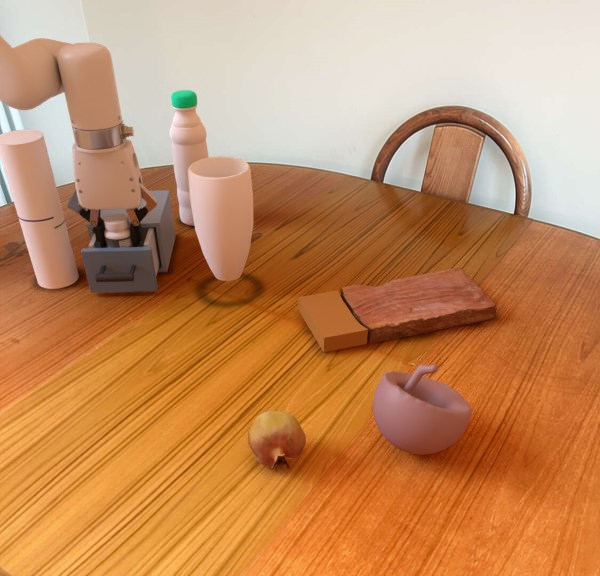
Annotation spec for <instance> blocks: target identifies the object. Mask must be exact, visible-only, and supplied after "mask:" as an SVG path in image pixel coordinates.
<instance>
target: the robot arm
mask: <svg viewBox="0 0 600 576" xmlns="http://www.w3.org/2000/svg"><path fill="white" fill-rule="evenodd" d="M117 86H118V85H117V81H116V76H115V69H114V63H113V59H112V54H111V52H110V50H109V49H108V47H106V46H105V45H103V44H101V43H96V42H76V43H75V42H74V43H69V42H66V41H65V42H64V41H61V40H56V39H52V38H51V39H50V38H44V37H43V38H42V37H40V38H34V39H31V40H29V41H26V42H24V43H21V44H19V45H16V46H14V47H12V45H11V44H10V43H8V42H7V40H6V39H4V37H2V36H1V35H0V102H2V103H3V104H4V105H5V106H8V107H9V108H11V109H15V110H19V111H29V110H30V111H31V110H33V109H35V108H37V107H39V106H41V105H42V104H44V103H45V102H47V101H48V100H50V99H51V98H54V97H57V96H59V95H61V94H63V93H64V97H65V102H66V107H67V110H68V111H67V112H68V114H69V120H70V125H71V129H72V134H73V138H74V142H73V143H72V146H71V155H72V157H71V158H72V169H73V178H74V186H75V190H74V191H73V193H72V195H71V197H70V199H69V200H68V202H67V204H66V205H67V209H70V210H72V211H73V212H74V213H76V214H79V216H80V217H82V218H83V219H84V220H85V221H87V223H88V222H90V225H91V226H93V227H94V232H95V236H96V241H97V242H100V247H101V248H106V246H107V245H106V241H105V236H104V231H105V229H106V228H105V224H104V221H103V219H102V218H101V217H100V216H101V210H110V209H126V212H127V214H128V216H129V218H130V220H131V224H130V233H131V238H132V244H133V247H138V246H139V243H140V241H142V239H143V235H142V229H141V224H140V222H141V221H142V220H143V218H144V217H145V216H146V215H147V213H149V212H150V211H151V210H152V209H154V208H155V207H156V206H157V203H158V200H157V199H156V198H155V197H154V196H153V195H152V194H151V193H150V192H149V191H150V190H148V189H147V187H145V185H144V181H143V176H142V172H141V168H140V164H139V161H138V156H137V153H136V150H135V147H134V144H133V141H132V140H131V139H128V138H129V137H135V130H134V127H133V126H128V125H126V124H125V121H124V119H123V115H122V110H121V105H120V97H119V93H118V87H117ZM141 198H143V199H144V200H145V201H146V203H145V204H144V205H143V206H142V207H141V208H140V209H139V208H138V207H139V206H140V205H141Z"/></svg>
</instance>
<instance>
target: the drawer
mask: <svg viewBox="0 0 600 576" xmlns="http://www.w3.org/2000/svg"><path fill="white" fill-rule="evenodd" d="M141 229H142V235H143V239H142V241H140V243H139V246H138V247H121V248H107V246H106V248H101V247H100V242H97V241H96V236H95V233H94V235H93V237H92V239H91V241H90V240H89V241H90V242H89V244H88V247H83V248H82V249H81V250H80V254H81V258H82V262H83V263H82V264H83V266H84V269H85V270H84V271H85V274H86V275H85V276H86V279H87V283H88V286H89V288H88V289H89V291H90V293H91V294H99V293H137V292H138V293H139V292H140V293H141V292H143V293H144V292H157V291H158V289H159V286H158V285H159V284H158V279H157V275H158V273H159V272H158V268H159V264H160V261H161V258H160V251H159V245H158V239H157V232H156V227H146V228H141Z"/></svg>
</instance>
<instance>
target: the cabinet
mask: <svg viewBox="0 0 600 576" xmlns="http://www.w3.org/2000/svg"><path fill="white" fill-rule="evenodd" d="M148 191H149V192H150V193H151V194H152V195H153V196H154V197H155V198H156V199H157V200H158V203H157V206H156V207H155V208H154V209H152V210H151V211H150V212H149V213H147V215H146V216H145V217H144V218H143V220H142V221H141V222H140V224H141V228H146V227H156V232H157V239H158V245H159V251H160V258H161V261H160V264H159V268H158V272H157V273H167V272H168V269H169V265H170V261H171V258H172V253H173V249H174V245H175V242H176V237H177V236H176V230H175V221H174V215H173V214H174V213H173V206H172V200H171V193H170V190H169V189H166V190H164V189H163V190H162V189H161V190H148ZM145 203H146V201H145V200H144V199H143V198H141V205H140V206H139V207H138V208H139V209H140V208H141V207H142V206H143V205H144V204H145ZM112 214H125V215H127V216H128V214H127V212H126V209H110V210H101V216H100V217H101V218H102V219H103V221H104V219H105V218H106V217H107V216H109V215H112ZM128 218H129V216H128ZM129 222H130V224H131V220H130V218H129ZM130 224H129V226H130ZM86 229H87V233H88V236H89V241H91V239H92V237H93V235H94V233H95V232H94V227H93V226H91V225H90V222H88V221H87V223H86Z"/></svg>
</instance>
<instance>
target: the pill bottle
mask: <svg viewBox="0 0 600 576" xmlns="http://www.w3.org/2000/svg"><path fill="white" fill-rule="evenodd" d="M104 224H105V228H106V229H105V231H104V236H105V241H106V245H107V248H121V247H133V244H132V238H131V233H130V226H129V224H130V222H129V218H128V216H127V215H125V214H112V215H109V216H107V217H106V218H105V219H104Z"/></svg>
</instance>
